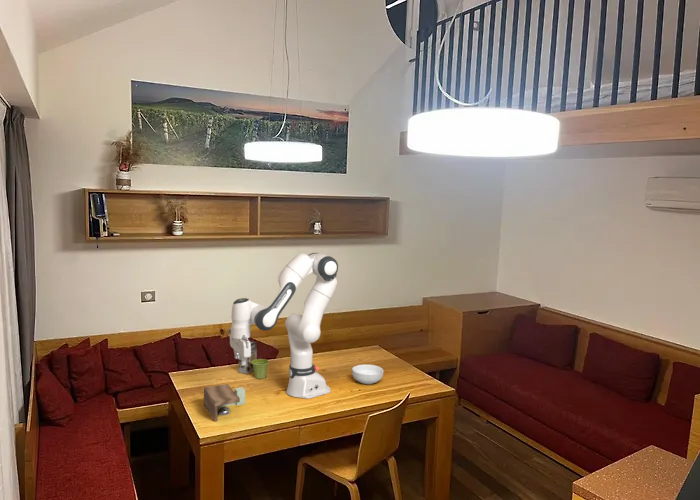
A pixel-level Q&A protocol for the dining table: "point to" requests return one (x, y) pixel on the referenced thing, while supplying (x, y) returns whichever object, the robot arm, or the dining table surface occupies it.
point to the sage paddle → (240, 394)
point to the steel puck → (223, 411)
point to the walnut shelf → (218, 398)
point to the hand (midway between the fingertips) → (240, 361)
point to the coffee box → (248, 359)
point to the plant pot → (260, 368)
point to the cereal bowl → (367, 373)
